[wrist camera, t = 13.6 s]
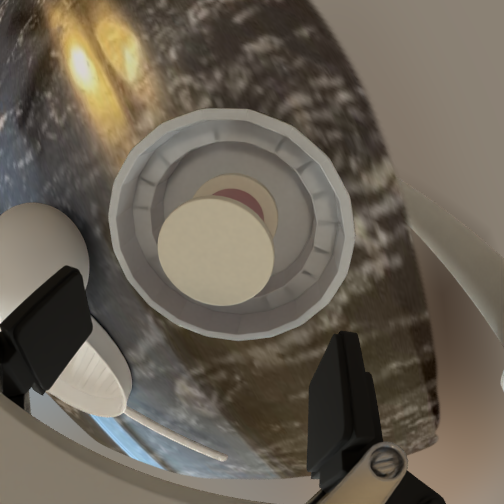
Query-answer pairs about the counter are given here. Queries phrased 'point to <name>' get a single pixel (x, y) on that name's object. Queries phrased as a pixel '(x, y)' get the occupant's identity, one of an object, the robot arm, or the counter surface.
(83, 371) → the pan
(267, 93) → the counter surface
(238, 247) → the spool
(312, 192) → the bowl
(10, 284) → the ornament
